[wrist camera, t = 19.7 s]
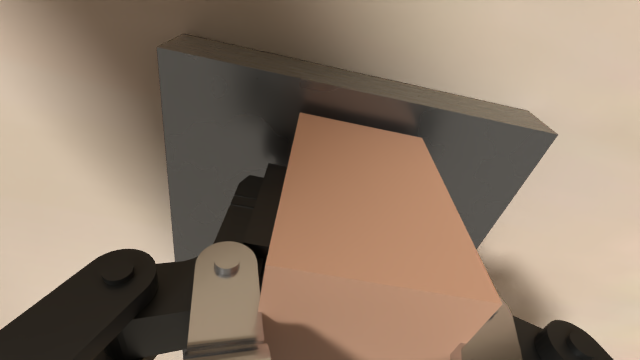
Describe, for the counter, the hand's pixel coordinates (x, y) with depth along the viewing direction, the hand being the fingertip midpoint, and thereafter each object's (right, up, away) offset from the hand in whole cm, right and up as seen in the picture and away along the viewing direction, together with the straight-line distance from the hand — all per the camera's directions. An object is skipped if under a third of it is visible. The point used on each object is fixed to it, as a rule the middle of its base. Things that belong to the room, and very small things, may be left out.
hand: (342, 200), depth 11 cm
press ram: (0, 0, +1) cm, 1 cm away
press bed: (-2, -5, +8) cm, 9 cm away
